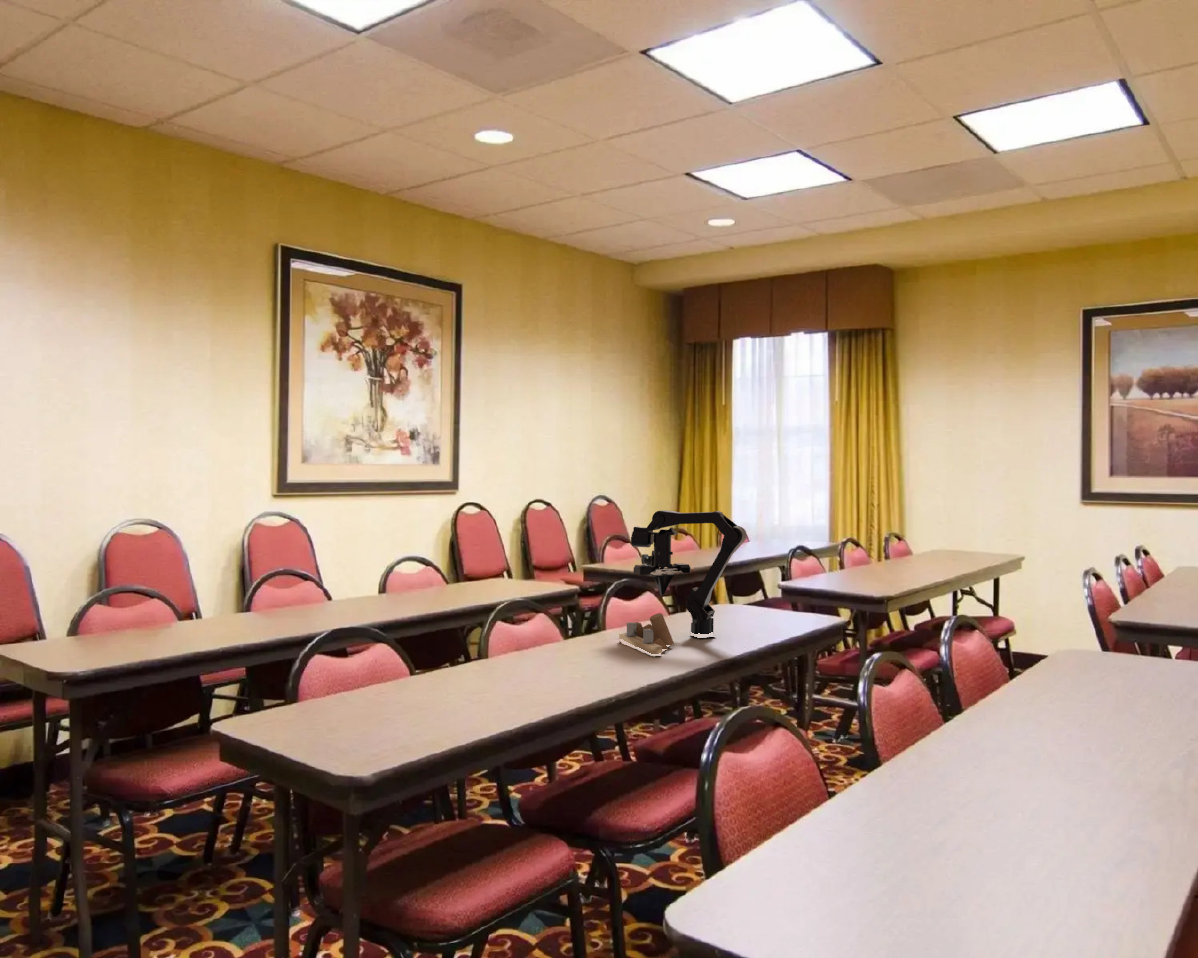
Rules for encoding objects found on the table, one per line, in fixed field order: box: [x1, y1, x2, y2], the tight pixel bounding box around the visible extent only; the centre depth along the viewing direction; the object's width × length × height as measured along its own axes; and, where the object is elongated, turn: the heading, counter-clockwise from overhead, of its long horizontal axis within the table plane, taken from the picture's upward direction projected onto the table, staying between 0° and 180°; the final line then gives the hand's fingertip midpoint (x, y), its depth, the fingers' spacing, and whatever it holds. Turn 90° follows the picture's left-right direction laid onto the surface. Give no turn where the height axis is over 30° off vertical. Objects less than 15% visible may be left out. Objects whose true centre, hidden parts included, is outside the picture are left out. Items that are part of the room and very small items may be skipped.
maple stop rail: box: [618, 632, 663, 654], centre depth 281 cm, size 3×24×3 cm, turn 23°
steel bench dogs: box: [626, 622, 653, 644], centre depth 281 cm, size 3×15×7 cm, turn 23°
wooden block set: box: [635, 612, 675, 650], centre depth 284 cm, size 18×9×10 cm, turn 28°
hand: (662, 594), depth 308 cm, fingers closed
